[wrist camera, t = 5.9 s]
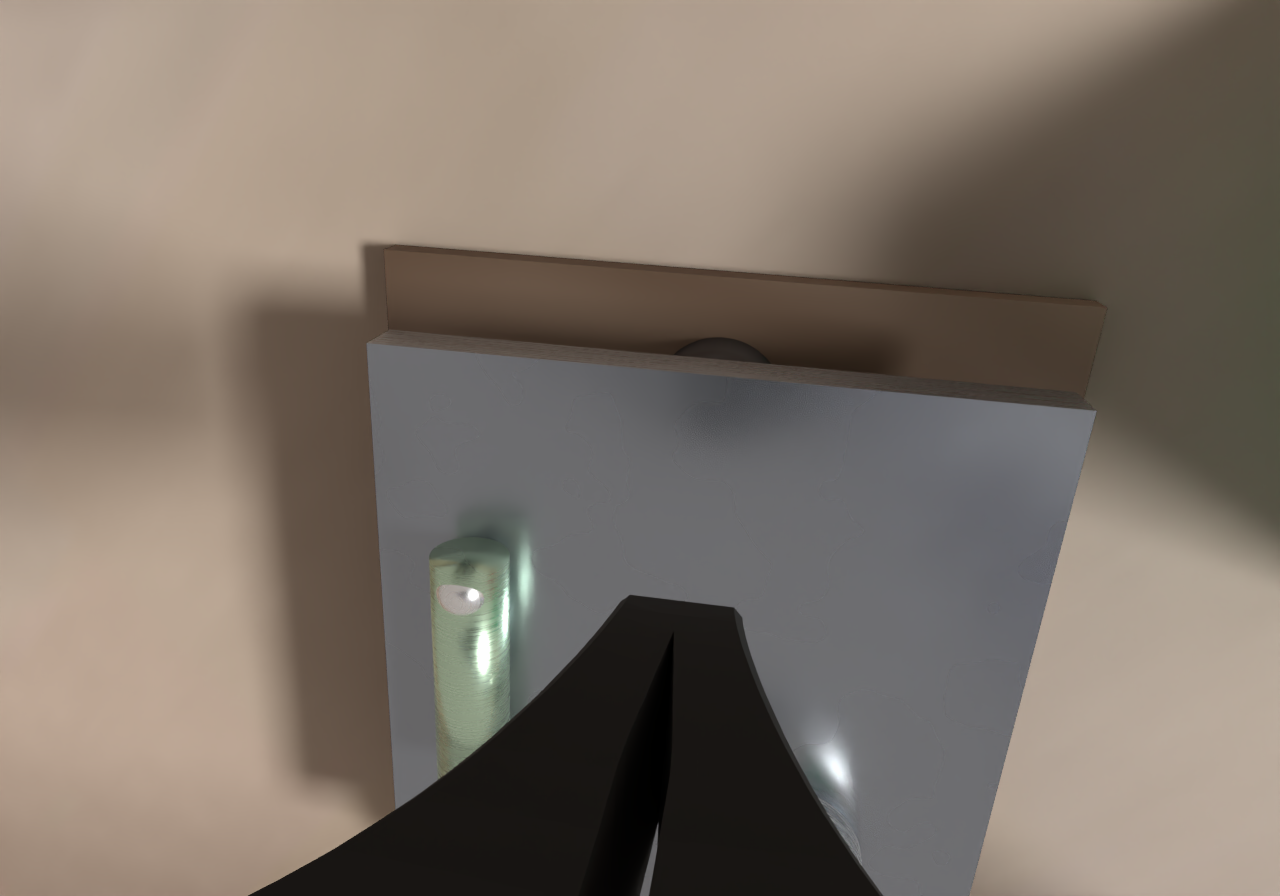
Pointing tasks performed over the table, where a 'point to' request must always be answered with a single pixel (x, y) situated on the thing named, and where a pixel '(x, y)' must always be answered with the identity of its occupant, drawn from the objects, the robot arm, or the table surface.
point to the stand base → (746, 317)
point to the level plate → (729, 558)
